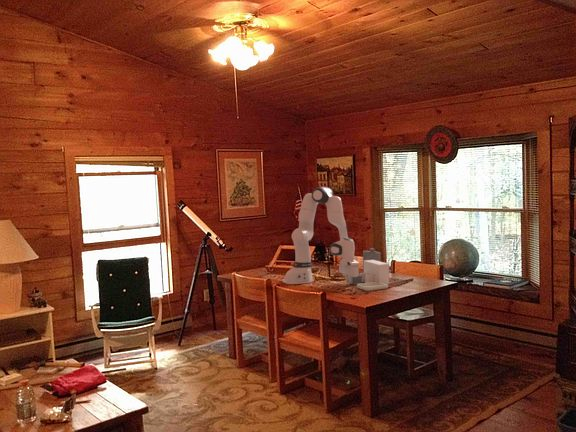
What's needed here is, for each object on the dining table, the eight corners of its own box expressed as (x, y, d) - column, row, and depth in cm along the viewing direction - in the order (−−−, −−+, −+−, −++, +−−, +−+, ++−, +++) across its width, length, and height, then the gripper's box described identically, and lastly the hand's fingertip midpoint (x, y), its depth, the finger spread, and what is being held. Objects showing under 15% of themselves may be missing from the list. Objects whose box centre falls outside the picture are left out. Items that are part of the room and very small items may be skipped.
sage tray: (366, 291, 357) (366, 287, 356) (356, 287, 367) (356, 283, 367) (388, 288, 364) (388, 284, 363) (378, 285, 374) (378, 281, 374)
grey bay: (370, 285, 372) (370, 265, 371) (355, 280, 390) (355, 261, 389) (389, 283, 378) (389, 263, 377) (373, 278, 396) (373, 259, 395)
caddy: (348, 285, 374) (348, 277, 373) (344, 284, 378) (344, 276, 378) (361, 284, 378) (361, 275, 378) (357, 282, 383) (357, 274, 382)
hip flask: (362, 273, 417) (362, 247, 415) (365, 272, 420) (365, 247, 418) (378, 276, 405) (378, 249, 404) (382, 275, 408) (382, 249, 406)
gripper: (336, 259, 383) (336, 279, 384) (352, 264, 365) (352, 284, 366) (344, 259, 386) (344, 278, 387) (360, 263, 367) (360, 283, 369)
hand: (348, 281), depth 376 cm, fingers closed on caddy
